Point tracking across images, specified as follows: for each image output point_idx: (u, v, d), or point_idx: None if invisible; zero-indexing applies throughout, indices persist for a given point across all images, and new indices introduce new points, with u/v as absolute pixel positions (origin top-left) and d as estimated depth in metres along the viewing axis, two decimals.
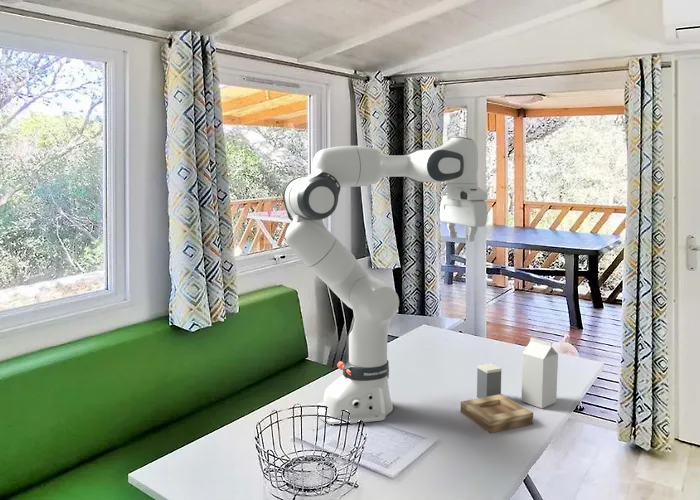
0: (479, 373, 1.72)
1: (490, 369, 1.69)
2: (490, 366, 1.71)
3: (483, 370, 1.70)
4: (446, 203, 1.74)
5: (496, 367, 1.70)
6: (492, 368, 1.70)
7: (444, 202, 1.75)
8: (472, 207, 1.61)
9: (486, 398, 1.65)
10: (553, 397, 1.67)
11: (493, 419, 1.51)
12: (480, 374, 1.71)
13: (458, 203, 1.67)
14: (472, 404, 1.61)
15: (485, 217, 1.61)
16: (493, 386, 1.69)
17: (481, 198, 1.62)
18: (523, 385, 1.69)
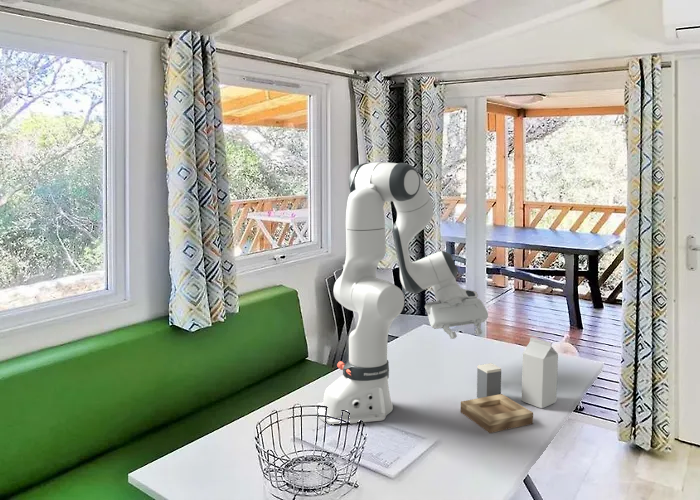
0: (479, 373, 1.72)
1: (490, 369, 1.69)
2: (490, 366, 1.71)
3: (483, 370, 1.70)
4: (441, 307, 1.84)
5: (496, 367, 1.70)
6: (492, 368, 1.70)
7: (437, 307, 1.83)
8: (481, 302, 1.89)
9: (486, 398, 1.65)
10: (553, 397, 1.67)
11: (493, 419, 1.51)
12: (480, 374, 1.71)
13: (462, 302, 1.86)
14: (472, 404, 1.61)
15: None
16: (493, 386, 1.69)
17: None
18: (523, 385, 1.69)
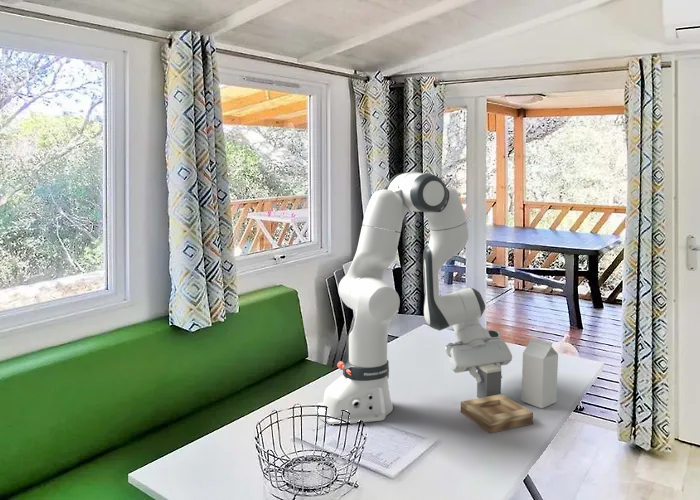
0: (479, 373, 1.72)
1: (490, 369, 1.69)
2: (490, 366, 1.71)
3: (483, 370, 1.70)
4: (463, 349, 1.73)
5: (496, 367, 1.70)
6: (492, 368, 1.70)
7: (459, 349, 1.73)
8: (504, 343, 1.78)
9: (486, 398, 1.65)
10: (553, 397, 1.67)
11: (493, 419, 1.51)
12: (480, 374, 1.71)
13: (484, 343, 1.76)
14: (472, 404, 1.61)
15: None
16: (493, 386, 1.69)
17: None
18: (523, 385, 1.69)
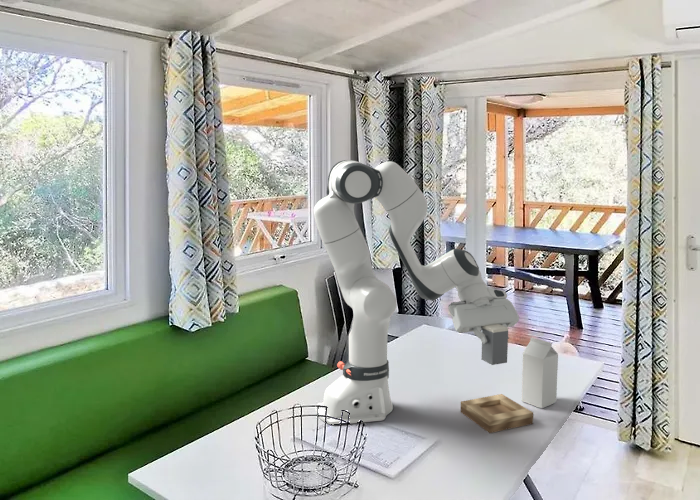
0: (485, 333, 1.60)
1: (496, 328, 1.58)
2: (496, 326, 1.60)
3: (489, 330, 1.58)
4: (467, 308, 1.62)
5: (503, 327, 1.59)
6: (498, 327, 1.58)
7: (463, 308, 1.61)
8: (510, 303, 1.67)
9: (486, 398, 1.65)
10: (553, 397, 1.67)
11: (493, 419, 1.51)
12: (485, 334, 1.60)
13: (490, 303, 1.65)
14: (472, 404, 1.61)
15: None
16: (499, 347, 1.58)
17: None
18: (523, 385, 1.69)
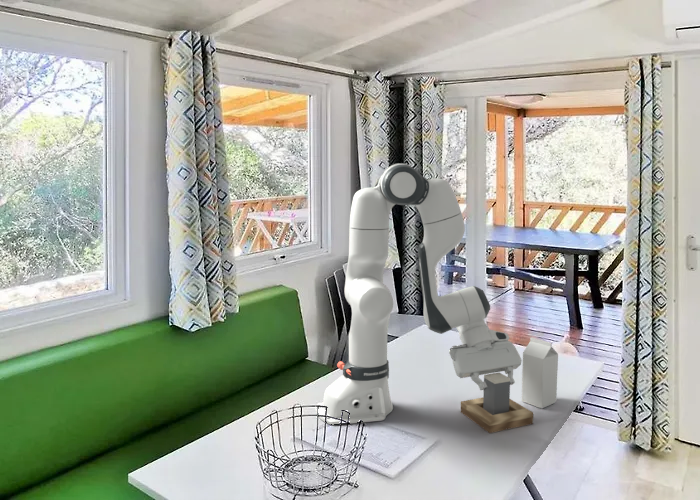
0: (486, 383, 1.58)
1: (498, 379, 1.55)
2: (498, 376, 1.58)
3: (490, 380, 1.56)
4: (468, 352, 1.60)
5: (504, 377, 1.57)
6: (500, 378, 1.56)
7: (463, 352, 1.59)
8: (513, 345, 1.64)
9: None
10: (553, 397, 1.67)
11: (493, 419, 1.51)
12: (487, 384, 1.58)
13: (491, 346, 1.62)
14: (472, 404, 1.61)
15: None
16: (501, 398, 1.56)
17: None
18: (523, 385, 1.69)
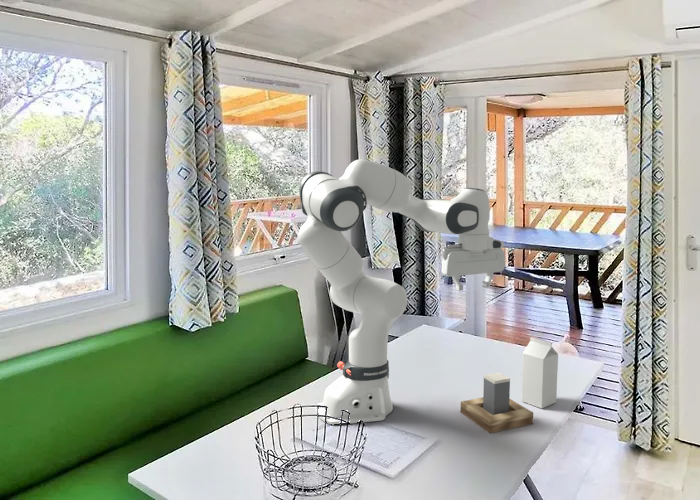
0: (486, 383, 1.58)
1: (498, 379, 1.55)
2: (498, 376, 1.58)
3: (490, 380, 1.56)
4: (460, 256, 1.66)
5: (504, 377, 1.57)
6: (500, 378, 1.56)
7: (456, 256, 1.65)
8: (503, 254, 1.71)
9: None
10: (553, 397, 1.67)
11: (493, 419, 1.51)
12: (487, 384, 1.58)
13: (483, 253, 1.68)
14: (472, 404, 1.61)
15: None
16: (501, 398, 1.56)
17: None
18: (523, 385, 1.69)
